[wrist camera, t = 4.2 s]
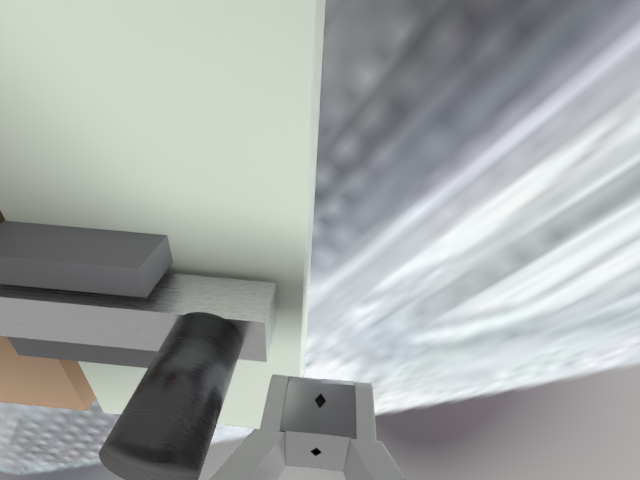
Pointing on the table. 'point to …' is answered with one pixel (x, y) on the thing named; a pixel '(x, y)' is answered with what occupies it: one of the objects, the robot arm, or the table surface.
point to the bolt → (158, 358)
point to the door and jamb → (156, 173)
